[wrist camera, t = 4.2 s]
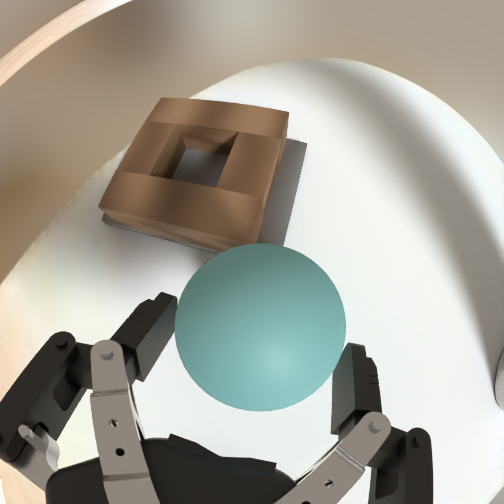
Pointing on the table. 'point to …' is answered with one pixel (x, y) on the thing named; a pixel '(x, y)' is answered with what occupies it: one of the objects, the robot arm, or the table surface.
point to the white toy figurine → (1, 494)
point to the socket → (208, 175)
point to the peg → (260, 327)
